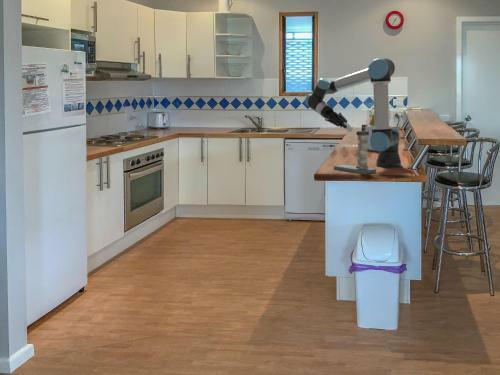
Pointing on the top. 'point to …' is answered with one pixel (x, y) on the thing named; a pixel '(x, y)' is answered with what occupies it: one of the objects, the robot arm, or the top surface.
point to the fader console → (354, 169)
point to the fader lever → (362, 149)
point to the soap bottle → (370, 132)
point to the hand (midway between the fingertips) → (351, 129)
